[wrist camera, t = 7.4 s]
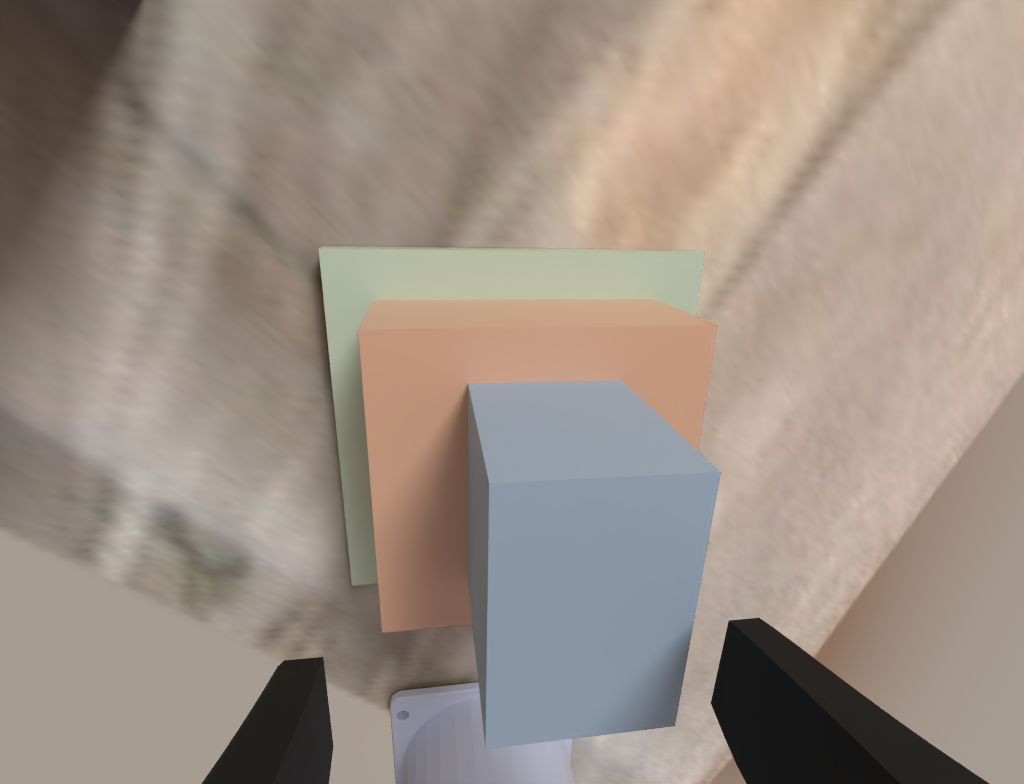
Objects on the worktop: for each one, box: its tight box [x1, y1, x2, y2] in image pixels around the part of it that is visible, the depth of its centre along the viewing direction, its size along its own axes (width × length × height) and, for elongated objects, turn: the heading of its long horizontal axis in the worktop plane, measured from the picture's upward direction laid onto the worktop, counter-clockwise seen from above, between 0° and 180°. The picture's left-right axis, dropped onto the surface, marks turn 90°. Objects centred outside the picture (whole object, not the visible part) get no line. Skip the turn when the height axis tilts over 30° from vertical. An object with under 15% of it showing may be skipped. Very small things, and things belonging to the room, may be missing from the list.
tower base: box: [319, 246, 718, 633], centre depth 17 cm, size 12×12×5 cm
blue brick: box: [468, 380, 721, 750], centre depth 12 cm, size 6×4×5 cm, turn 179°
